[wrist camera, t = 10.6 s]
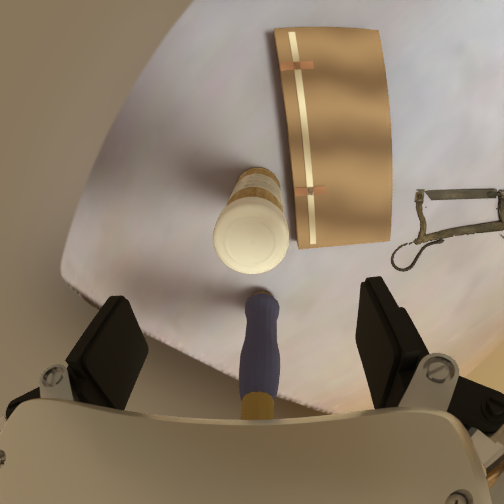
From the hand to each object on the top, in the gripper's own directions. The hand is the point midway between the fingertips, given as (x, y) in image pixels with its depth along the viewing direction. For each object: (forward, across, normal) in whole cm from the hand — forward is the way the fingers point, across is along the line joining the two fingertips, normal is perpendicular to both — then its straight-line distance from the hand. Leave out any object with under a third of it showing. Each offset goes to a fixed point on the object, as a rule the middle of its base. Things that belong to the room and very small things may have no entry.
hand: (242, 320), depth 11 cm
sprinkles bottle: (+20, 0, 0) cm, 20 cm away
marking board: (+20, -8, -5) cm, 22 cm away
